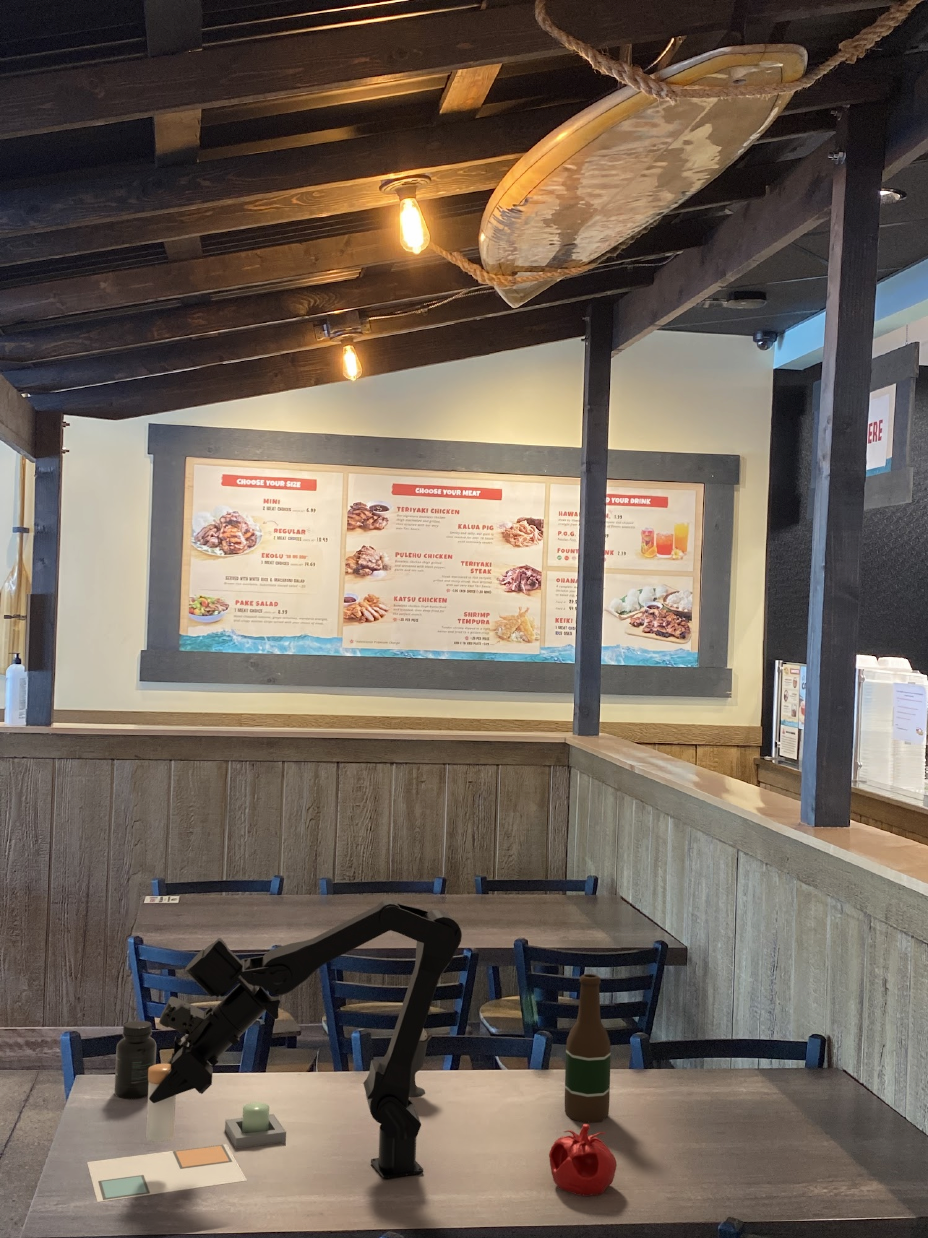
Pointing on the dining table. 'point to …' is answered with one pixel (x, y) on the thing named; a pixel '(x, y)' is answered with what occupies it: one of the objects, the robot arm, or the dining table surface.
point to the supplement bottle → (134, 1060)
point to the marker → (160, 1108)
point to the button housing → (255, 1133)
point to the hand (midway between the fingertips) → (152, 1095)
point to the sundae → (418, 1063)
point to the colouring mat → (164, 1172)
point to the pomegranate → (582, 1163)
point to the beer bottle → (588, 1059)
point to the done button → (255, 1118)
